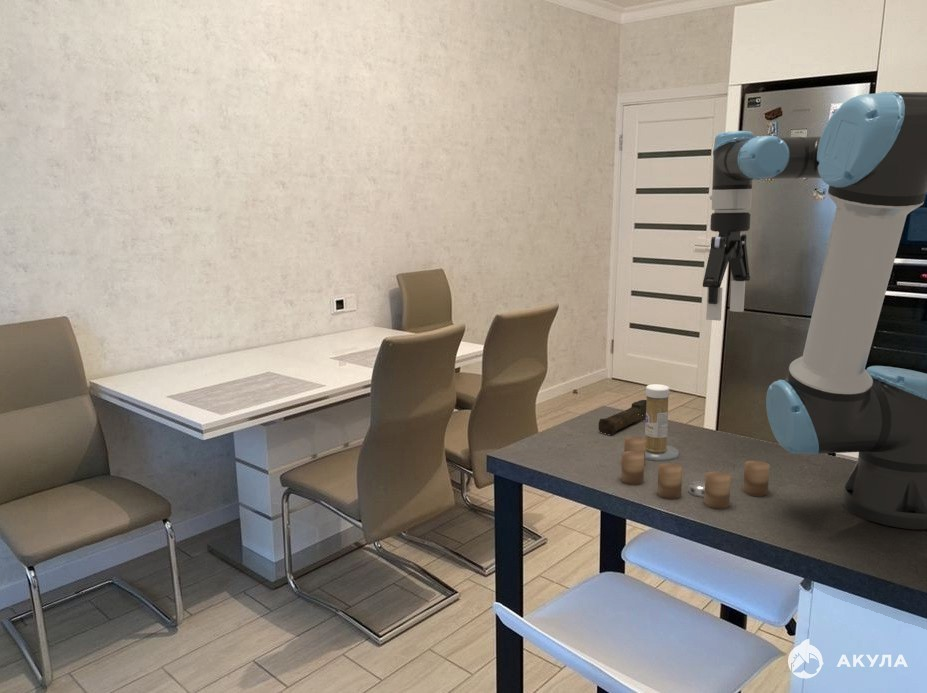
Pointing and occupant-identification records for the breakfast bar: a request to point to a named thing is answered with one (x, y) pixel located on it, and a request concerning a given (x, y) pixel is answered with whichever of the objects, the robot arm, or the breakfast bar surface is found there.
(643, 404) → the dark brown elongated piece
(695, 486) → the silver rounded piece
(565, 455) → the breakfast bar surface
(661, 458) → the coaster
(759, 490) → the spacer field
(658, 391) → the sprinkles bottle
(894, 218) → the robot arm
